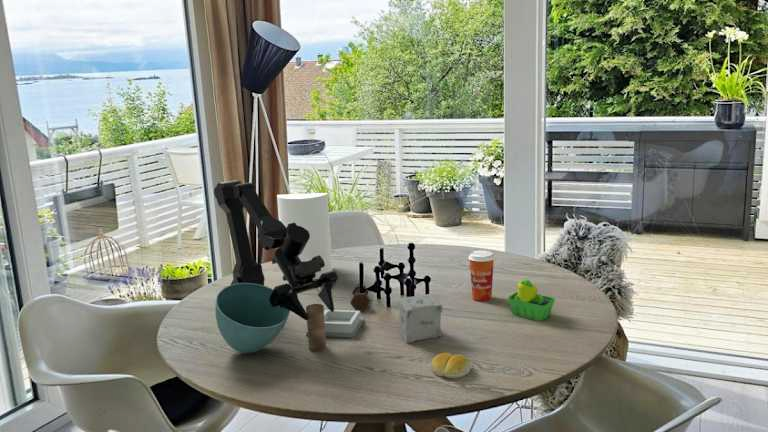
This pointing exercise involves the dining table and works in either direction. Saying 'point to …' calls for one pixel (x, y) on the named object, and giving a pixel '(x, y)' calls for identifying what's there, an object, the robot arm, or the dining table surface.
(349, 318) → the white tray
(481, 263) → the paper cup
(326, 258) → the cylinder
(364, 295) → the bolt
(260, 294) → the teal bowl
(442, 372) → the bread roll
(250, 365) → the dining table surface
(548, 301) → the fruit basket
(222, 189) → the robot arm
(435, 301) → the light grey box
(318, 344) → the walnut cylinder
